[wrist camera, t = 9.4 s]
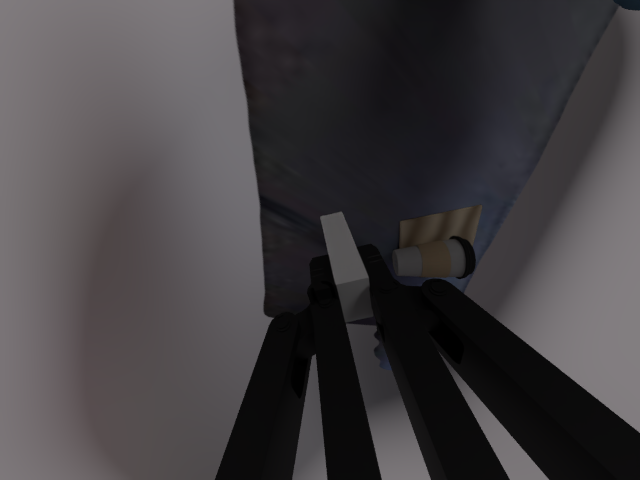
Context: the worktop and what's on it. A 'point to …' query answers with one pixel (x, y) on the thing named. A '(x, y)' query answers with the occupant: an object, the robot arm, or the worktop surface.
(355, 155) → the worktop surface
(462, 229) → the brown striped mat
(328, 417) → the robot arm
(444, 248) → the coffee cup
